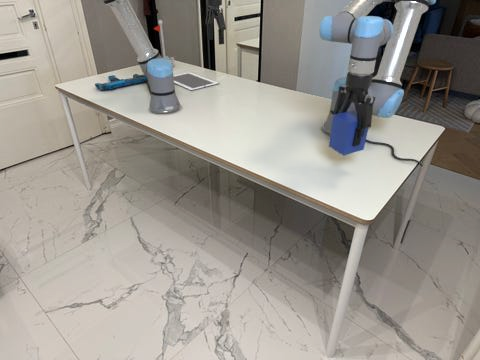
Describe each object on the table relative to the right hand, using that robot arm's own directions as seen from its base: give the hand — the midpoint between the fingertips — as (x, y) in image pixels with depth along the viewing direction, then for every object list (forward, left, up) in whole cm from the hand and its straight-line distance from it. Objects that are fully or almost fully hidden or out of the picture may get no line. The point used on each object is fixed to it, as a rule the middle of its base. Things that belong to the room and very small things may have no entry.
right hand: (347, 140), depth 116 cm
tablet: (+125, +16, -12) cm, 126 cm away
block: (0, 0, -3) cm, 3 cm away
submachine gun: (+140, +54, -12) cm, 150 cm away
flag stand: (+166, +21, -12) cm, 167 cm away
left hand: (+99, +8, +15) cm, 100 cm away
